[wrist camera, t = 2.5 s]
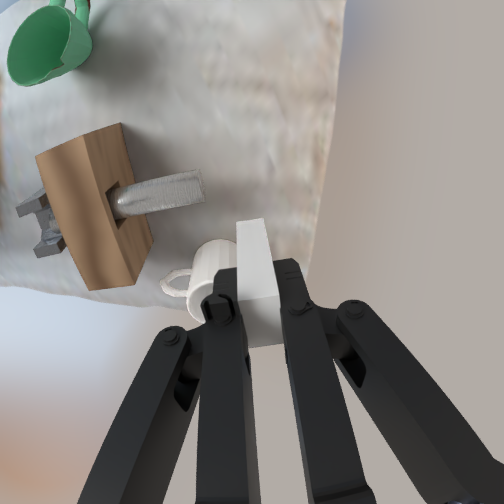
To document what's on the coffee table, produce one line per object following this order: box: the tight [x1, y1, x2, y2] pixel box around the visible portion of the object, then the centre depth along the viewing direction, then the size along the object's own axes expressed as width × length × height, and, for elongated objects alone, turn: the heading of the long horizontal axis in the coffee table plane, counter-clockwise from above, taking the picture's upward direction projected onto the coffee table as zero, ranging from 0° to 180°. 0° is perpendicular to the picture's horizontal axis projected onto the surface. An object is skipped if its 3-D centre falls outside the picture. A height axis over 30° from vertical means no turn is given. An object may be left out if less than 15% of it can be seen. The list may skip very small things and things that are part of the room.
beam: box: [35, 123, 154, 291], centre depth 31 cm, size 7×18×10 cm, turn 8°
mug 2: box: [160, 239, 237, 324], centre depth 38 cm, size 8×12×10 cm
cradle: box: [16, 188, 67, 258], centre depth 32 cm, size 5×8×8 cm, turn 8°
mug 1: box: [7, 0, 93, 87], centre depth 18 cm, size 15×10×10 cm
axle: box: [49, 169, 205, 234], centre depth 29 cm, size 20×4×4 cm, turn 98°
